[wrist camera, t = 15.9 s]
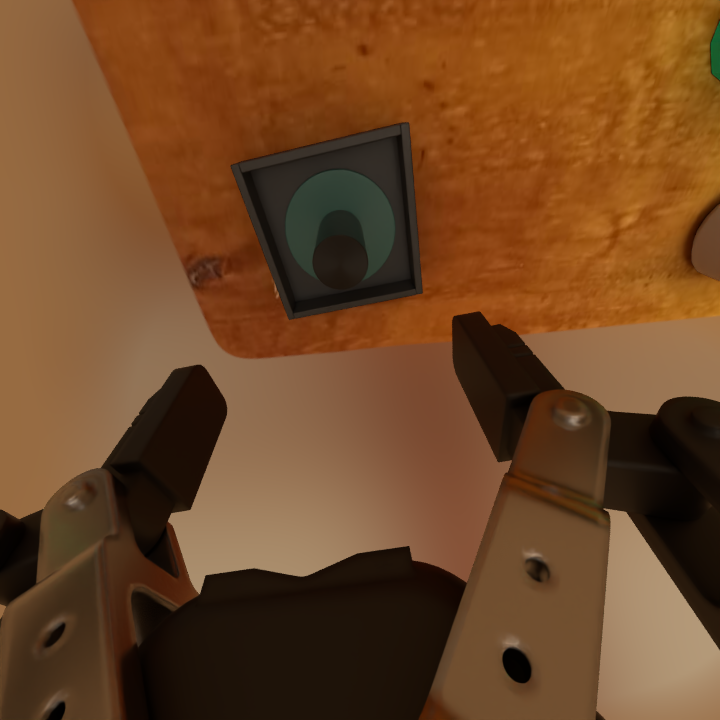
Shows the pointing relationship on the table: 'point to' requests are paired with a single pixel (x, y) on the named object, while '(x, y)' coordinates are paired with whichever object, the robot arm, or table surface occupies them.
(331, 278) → the pan lid
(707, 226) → the can
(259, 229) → the square tray
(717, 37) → the candle
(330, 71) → the table surface
